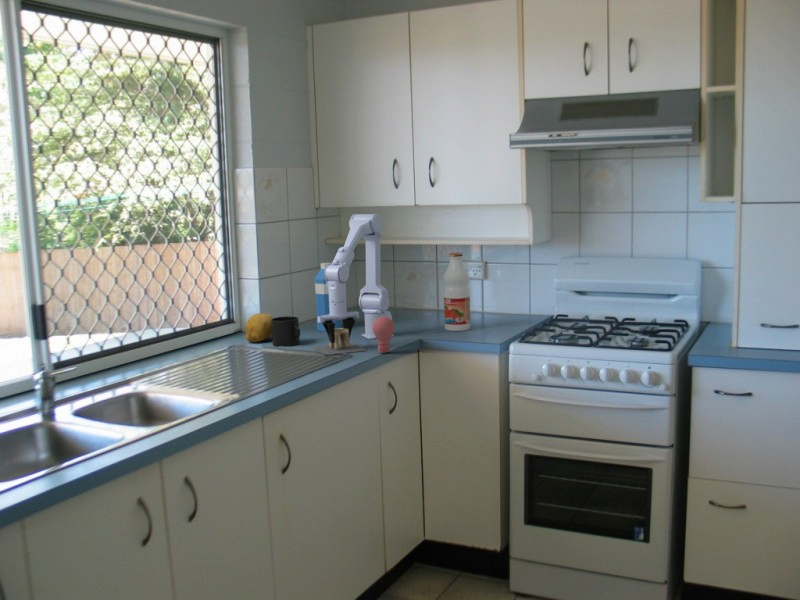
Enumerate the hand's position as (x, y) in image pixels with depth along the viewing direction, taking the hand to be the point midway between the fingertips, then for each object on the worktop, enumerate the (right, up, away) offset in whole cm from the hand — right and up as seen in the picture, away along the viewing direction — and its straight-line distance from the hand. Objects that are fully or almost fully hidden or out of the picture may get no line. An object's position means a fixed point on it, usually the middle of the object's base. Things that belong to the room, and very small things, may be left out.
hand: (339, 341), depth 284 cm
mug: (-19, -2, +12) cm, 22 cm away
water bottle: (-7, +3, +39) cm, 40 cm away
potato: (-29, -1, +21) cm, 36 cm away
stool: (0, -2, 0) cm, 2 cm away
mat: (0, -3, 0) cm, 3 cm away
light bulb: (+15, -4, -8) cm, 17 cm away
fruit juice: (+41, +3, +29) cm, 51 cm away
